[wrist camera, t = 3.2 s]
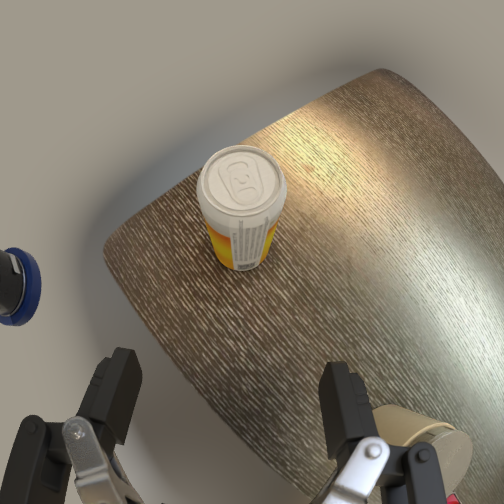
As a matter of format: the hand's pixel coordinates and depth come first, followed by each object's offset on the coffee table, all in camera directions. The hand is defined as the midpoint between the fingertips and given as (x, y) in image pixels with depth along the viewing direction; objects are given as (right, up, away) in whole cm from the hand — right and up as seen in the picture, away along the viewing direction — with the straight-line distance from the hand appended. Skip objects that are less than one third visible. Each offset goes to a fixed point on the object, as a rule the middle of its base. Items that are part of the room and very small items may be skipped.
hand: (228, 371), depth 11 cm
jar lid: (+17, -14, +4) cm, 23 cm away
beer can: (0, +6, +22) cm, 22 cm away
